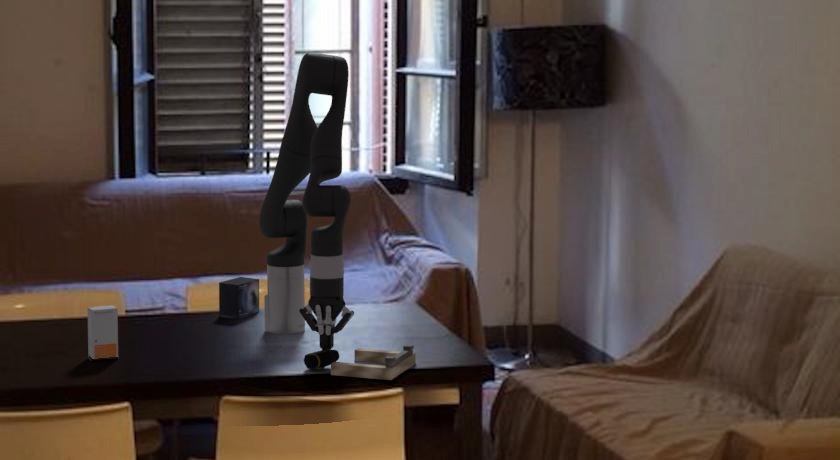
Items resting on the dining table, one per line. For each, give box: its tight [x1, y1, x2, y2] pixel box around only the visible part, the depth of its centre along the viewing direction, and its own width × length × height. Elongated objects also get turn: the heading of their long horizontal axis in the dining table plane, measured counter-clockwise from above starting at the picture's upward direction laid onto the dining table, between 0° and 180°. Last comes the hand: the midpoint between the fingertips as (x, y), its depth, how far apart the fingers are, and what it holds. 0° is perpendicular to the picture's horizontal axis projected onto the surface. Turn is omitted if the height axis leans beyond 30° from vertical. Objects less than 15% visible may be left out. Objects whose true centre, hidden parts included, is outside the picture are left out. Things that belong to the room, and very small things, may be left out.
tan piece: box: [330, 344, 416, 381], centre depth 287 cm, size 14×16×4 cm
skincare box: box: [87, 304, 119, 359], centre depth 296 cm, size 6×4×12 cm
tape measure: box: [303, 349, 340, 371], centre depth 287 cm, size 7×7×4 cm
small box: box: [218, 276, 260, 320], centre depth 341 cm, size 11×6×10 cm, turn 155°
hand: (326, 350), depth 291 cm, fingers closed
